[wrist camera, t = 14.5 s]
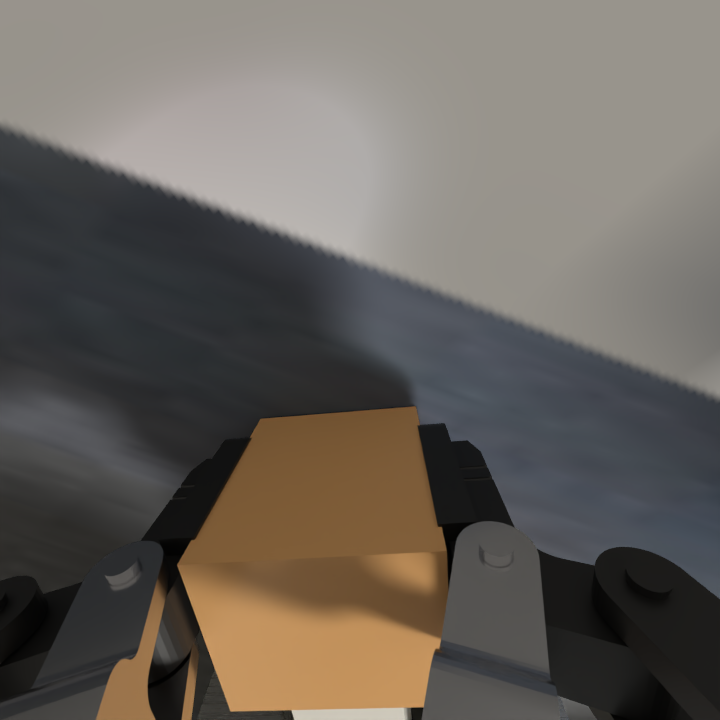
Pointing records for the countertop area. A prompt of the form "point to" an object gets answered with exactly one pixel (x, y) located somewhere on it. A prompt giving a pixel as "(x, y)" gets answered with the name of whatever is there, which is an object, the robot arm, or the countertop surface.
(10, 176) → the countertop surface
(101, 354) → the countertop surface
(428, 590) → the plug
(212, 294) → the countertop surface
